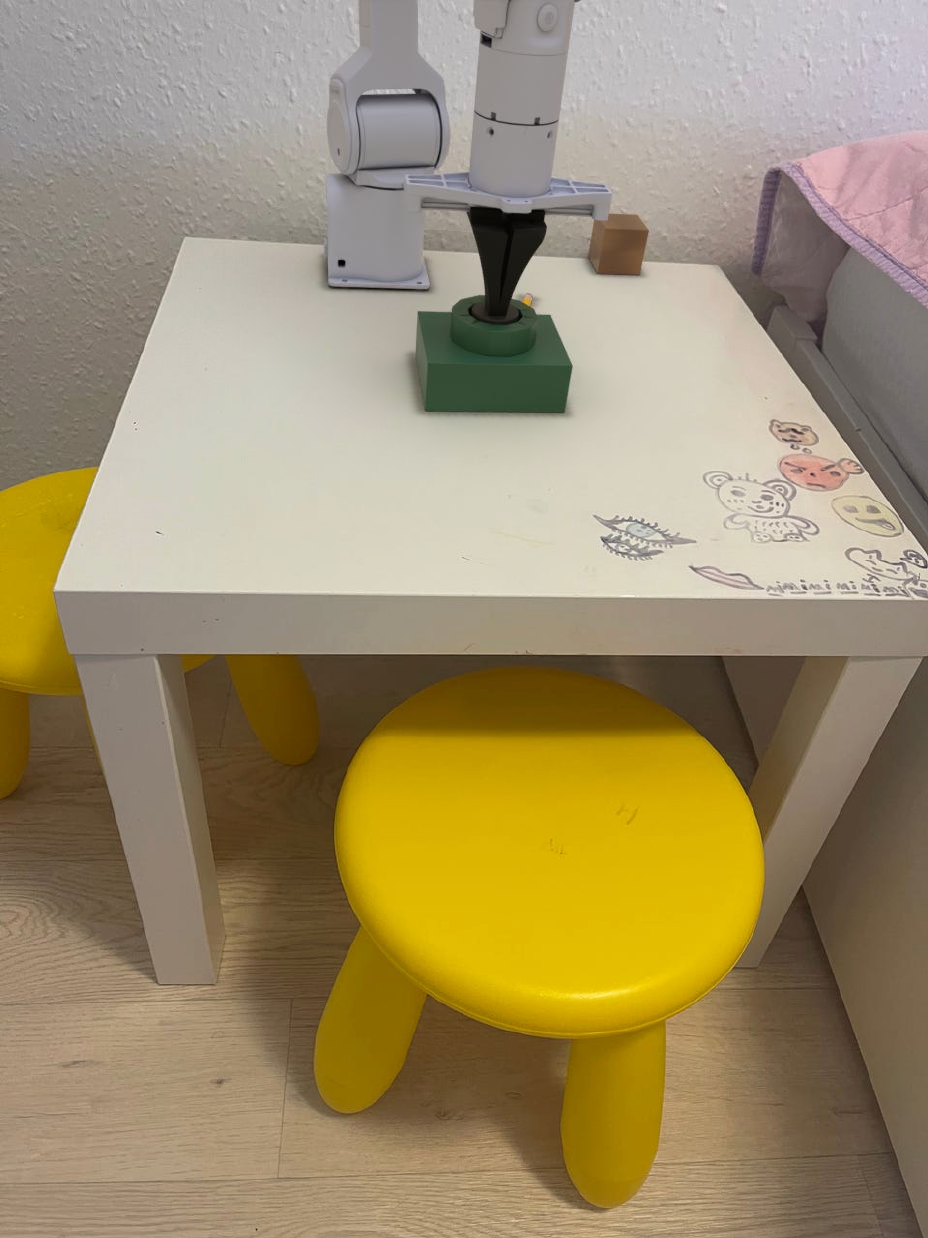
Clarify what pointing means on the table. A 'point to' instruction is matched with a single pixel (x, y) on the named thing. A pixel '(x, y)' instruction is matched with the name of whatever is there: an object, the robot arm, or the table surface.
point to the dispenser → (491, 361)
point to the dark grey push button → (482, 315)
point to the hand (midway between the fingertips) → (495, 310)
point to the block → (618, 244)
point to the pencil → (527, 299)
